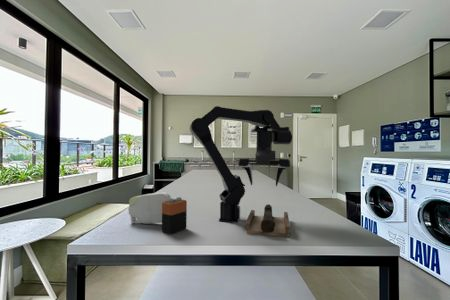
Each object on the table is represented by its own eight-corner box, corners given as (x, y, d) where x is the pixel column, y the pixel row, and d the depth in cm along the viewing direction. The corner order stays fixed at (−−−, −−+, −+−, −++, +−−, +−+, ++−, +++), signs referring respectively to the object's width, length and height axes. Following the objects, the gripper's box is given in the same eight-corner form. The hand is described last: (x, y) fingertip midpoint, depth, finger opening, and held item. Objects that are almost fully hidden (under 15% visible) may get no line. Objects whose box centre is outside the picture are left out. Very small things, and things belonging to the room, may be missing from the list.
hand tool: (274, 234, 65) (274, 217, 65) (260, 232, 66) (260, 216, 66) (276, 216, 84) (276, 203, 84) (265, 215, 85) (265, 203, 85)
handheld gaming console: (135, 227, 80) (174, 224, 77) (130, 229, 77) (170, 227, 74) (131, 195, 80) (170, 191, 77) (126, 197, 78) (166, 192, 74)
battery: (161, 231, 69) (161, 199, 69) (177, 226, 75) (177, 195, 75) (170, 234, 67) (171, 200, 67) (187, 228, 72) (187, 197, 72)
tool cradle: (245, 233, 68) (245, 223, 68) (251, 217, 85) (251, 209, 85) (289, 237, 65) (289, 226, 65) (287, 220, 82) (287, 212, 82)
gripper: (236, 143, 80) (235, 187, 80) (290, 143, 76) (290, 189, 76) (240, 144, 91) (240, 183, 91) (289, 144, 87) (289, 185, 87)
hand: (263, 185), depth 86 cm, fingers open, 9 cm apart
